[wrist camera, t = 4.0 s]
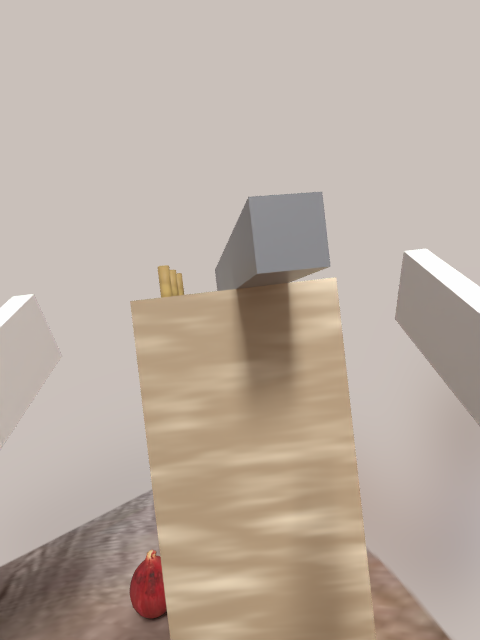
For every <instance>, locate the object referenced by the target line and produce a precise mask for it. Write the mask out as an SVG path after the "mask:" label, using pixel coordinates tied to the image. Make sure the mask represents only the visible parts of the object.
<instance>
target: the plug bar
mask: <svg viewBox="0 0 480 640" xmlns="http://www.w3.org/2000/svg"><path fill="white" fill-rule="evenodd" d="M328 267H330V259H329V250H328V241H327V232H326V223H325V213H324V204H323V195H322V192H312V193H298V194H284V195H269V196H256V197H248V199H247V201H246V204H245V206H244V208H243V210H242V213H241V214H240V217H239V219H238V221H237V223H236V225H235V228H234V230H233V232H232V234H231V236H230V238H229V241H228V243H227V245H226V247H225V249H224V252H223V254H222V256H221V258H220V261H219V262H218V265H217V267H216V269H215V273H216V282H217V291H223V290H231V289H240V288H249V287H257V286H266V285H274V284H283V283H289V282H292V281H294V280H297V279H299V278H302V277H304V276H307V275H310V274H312V273H315V272H318V271H320V270H323V269H325V268H328Z"/></svg>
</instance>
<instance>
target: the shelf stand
mask: <svg viewBox="0 0 480 640" xmlns="http://www.w3.org/2000/svg"><path fill="white" fill-rule="evenodd" d="M158 274H159V283H160V291H161V298H154V299H145V300H136V301H131V302H130V303H131V312H132V320H133V328H134V337H135V345H136V354H137V362H138V371H139V379H140V387H141V396H142V404H143V413H144V421H145V429H146V438H147V447H148V455H149V463H150V471H151V480H152V489H153V497H154V506H155V514H156V523H157V531H158V539H159V548H160V556H161V565H162V573H163V582H164V590H165V599H166V607H167V615H168V624H169V632H170V640H376V634H375V625H374V616H373V607H372V597H371V588H370V579H369V570H368V561H367V552H366V543H365V534H364V525H363V516H362V507H361V498H360V489H359V480H358V471H357V461H356V452H355V444H354V434H353V426H352V416H351V408H350V399H349V390H348V380H347V371H346V362H345V353H344V343H343V334H342V325H341V316H340V307H339V298H338V289H337V280H336V277H335V278H327V279H318V280H310V281H300V282H292V283H283V284H274V285H266V286H257V287H249V288H240V289H231V290H223V291H214V292H206V293H197V294H189V295H184V289H183V281H182V274H181V273H177V274H176V270H169V266H159V267H158Z"/></svg>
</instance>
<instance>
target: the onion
mask: <svg viewBox="0 0 480 640" xmlns="http://www.w3.org/2000/svg"><path fill="white" fill-rule="evenodd" d="M130 597H131V602H132V605H133V608H134V609H135V610H136V611H137V612H138V613H139V614H140V615H141V616H143V617H146V618H156V617H159V616H161V615H162V614H164V613H165V612H166V611H167V607H166V599H165V590H164V582H163V573H162V565H161V557H160V556H156V551H154V550H150V551H149V552H148V553H147V556H146V559H145V560H144V561H143V562H142V563H141V564H140V565H139V566H138V568H137V569H136V570H135V572H134V574H133V577H132V580H131V585H130Z"/></svg>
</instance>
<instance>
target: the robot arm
mask: <svg viewBox="0 0 480 640" xmlns="http://www.w3.org/2000/svg"><path fill="white" fill-rule="evenodd" d="M395 320H396V321H397V322H398V323H399V324H400V326H401V327H402V329H403V330H404V331H405V332H406V334H407V335H408V336H409V337H410V339H411V340H412V341H413V342H414V343H415V345H416V346H417V348H418V349H419V350H420V351H421V352H422V354H423V355H424V356H425V358H426V359H427V360H428V361H429V363H430V364H431V365H432V367H433V368H434V369H435V370H436V371H437V373H438V374H439V375H440V377H441V378H442V379H443V380H444V382H445V383H446V384H447V385H448V387H449V388H450V389H451V390H452V392H453V393H454V394H455V396H456V397H457V398H458V399H459V401H460V402H461V403H462V404H463V406H464V407H465V408H466V409H467V411H468V412H469V413H470V415H471V416H472V417H473V418H474V420H475V421H476V422H477V423H478V425H479V426H480V287H479V286H478V285H476V284H475V283H473V282H472V281H471V280H469V279H468V278H466V277H465V276H464V275H462V274H461V273H459V272H458V271H457V270H455V269H454V268H452V267H451V266H450V265H448V264H447V263H445V262H444V261H442V260H441V259H440V258H439V257H437V256H436V255H434V254H433V253H431V252H430V251H429V250H427V249H419V250H411V251H404V254H403V262H402V269H401V277H400V285H399V292H398V300H397V307H396V315H395ZM61 357H62V354H61V352H60V350H59V348H58V346H57V344H56V341H55V339H54V337H53V335H52V332H51V330H50V328H49V326H48V324H47V322H46V320H45V317H44V315H43V313H42V311H41V308H40V306H39V304H38V302H37V300H36V297H35V295H34V294H31V295H23V296H13V297H12V298H11V299H10V300H9V301H8V302H6V303H5V304H4V305H3V306H2V307H1V308H0V450H1V448H2V447H3V445H4V444H5V442H6V441H7V439H8V438H9V436H10V435H11V433H12V432H13V430H14V428H15V427H16V426H17V424H18V422H19V421H20V419H21V418H22V416H23V415H24V413H25V412H26V410H27V409H28V407H29V406H30V404H31V403H32V401H33V400H34V398H35V396H36V395H37V393H38V392H39V390H40V389H41V387H42V386H43V384H44V383H45V381H46V379H47V378H48V377H49V375H50V373H51V372H52V371H53V369H54V367H55V366H56V364H57V363H58V361H59V360H60V358H61Z"/></svg>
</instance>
